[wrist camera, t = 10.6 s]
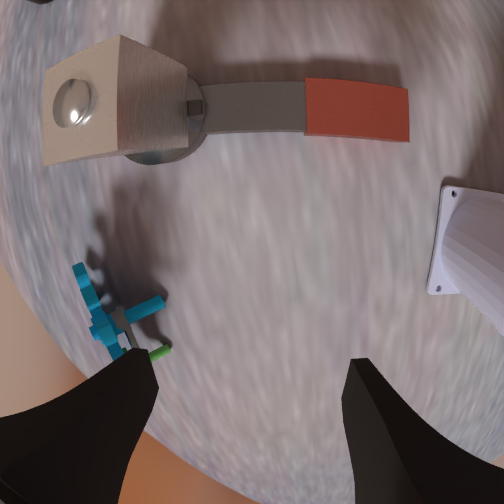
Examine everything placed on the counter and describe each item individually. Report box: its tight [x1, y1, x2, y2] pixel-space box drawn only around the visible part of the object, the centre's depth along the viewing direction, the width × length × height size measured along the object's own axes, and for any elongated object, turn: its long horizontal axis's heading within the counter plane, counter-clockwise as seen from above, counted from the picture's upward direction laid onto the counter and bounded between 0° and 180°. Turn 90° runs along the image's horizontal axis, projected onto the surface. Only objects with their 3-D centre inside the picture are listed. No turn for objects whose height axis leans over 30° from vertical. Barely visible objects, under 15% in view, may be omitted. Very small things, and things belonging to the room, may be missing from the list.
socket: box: [43, 34, 188, 166], centre depth 11 cm, size 5×5×6 cm
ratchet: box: [125, 74, 409, 165], centre depth 13 cm, size 18×6×5 cm, turn 91°
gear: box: [72, 262, 171, 362], centre depth 19 cm, size 11×6×10 cm
